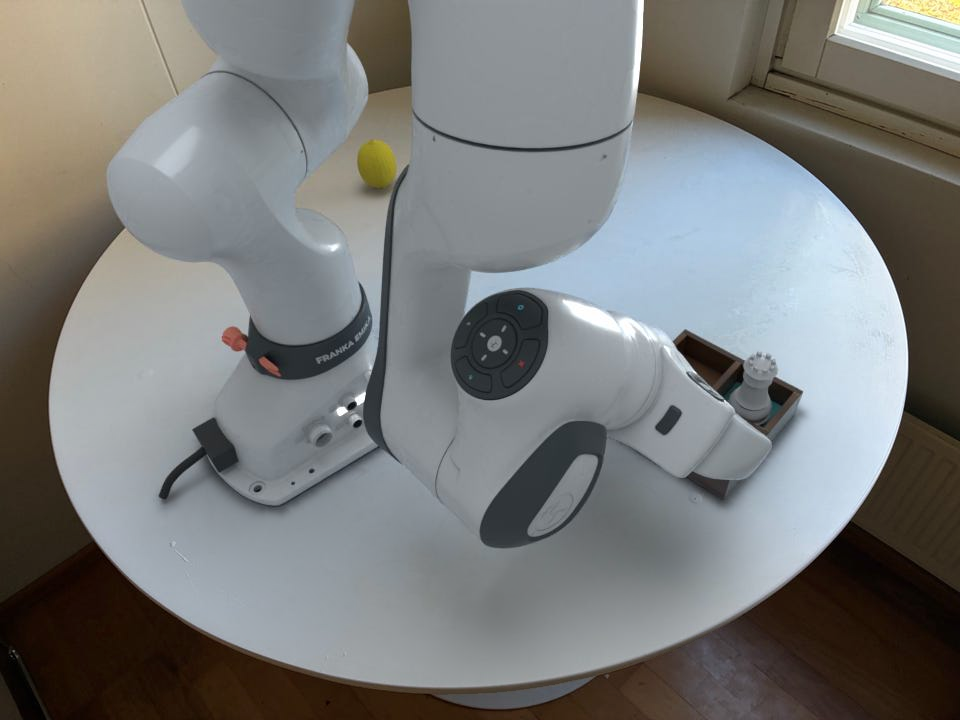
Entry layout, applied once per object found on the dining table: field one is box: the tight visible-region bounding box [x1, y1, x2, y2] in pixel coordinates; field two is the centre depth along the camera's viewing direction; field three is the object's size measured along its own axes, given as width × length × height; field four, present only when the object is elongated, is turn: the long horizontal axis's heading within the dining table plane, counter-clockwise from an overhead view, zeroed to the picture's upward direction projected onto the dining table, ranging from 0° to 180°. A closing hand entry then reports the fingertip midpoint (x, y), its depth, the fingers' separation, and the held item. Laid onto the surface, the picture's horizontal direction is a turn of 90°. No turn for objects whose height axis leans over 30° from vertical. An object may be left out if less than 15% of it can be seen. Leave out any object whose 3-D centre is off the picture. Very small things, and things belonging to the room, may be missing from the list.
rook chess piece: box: [727, 351, 779, 425], centre depth 77 cm, size 4×4×8 cm
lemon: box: [356, 139, 397, 189], centre depth 111 cm, size 6×6×8 cm
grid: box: [672, 328, 804, 501], centre depth 80 cm, size 14×14×4 cm
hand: (693, 392), depth 69 cm, fingers open, 8 cm apart
